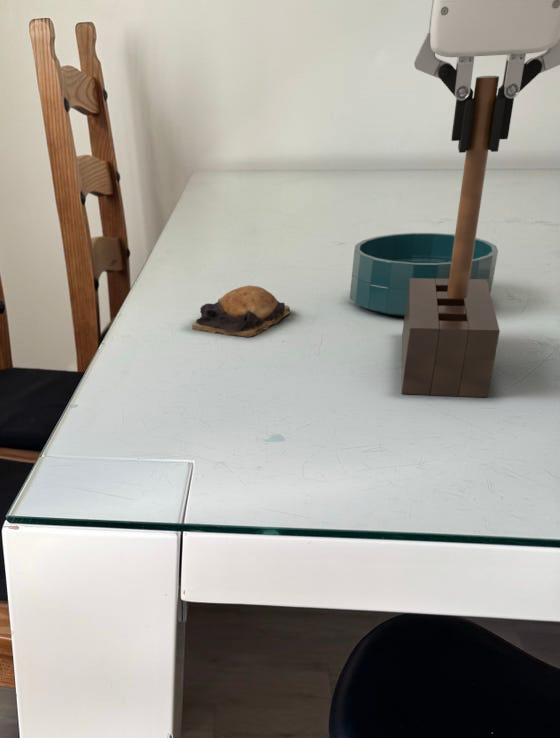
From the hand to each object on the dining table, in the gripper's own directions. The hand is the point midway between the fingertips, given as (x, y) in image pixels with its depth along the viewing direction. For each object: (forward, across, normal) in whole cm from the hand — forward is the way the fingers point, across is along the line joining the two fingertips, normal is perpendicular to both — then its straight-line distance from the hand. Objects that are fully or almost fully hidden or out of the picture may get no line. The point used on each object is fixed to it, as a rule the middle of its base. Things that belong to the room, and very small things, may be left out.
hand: (477, 148), depth 86 cm
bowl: (+19, +2, -22) cm, 29 cm away
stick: (+13, 0, 0) cm, 13 cm away
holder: (+19, 0, 0) cm, 19 cm away
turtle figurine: (+19, +22, -13) cm, 31 cm away
